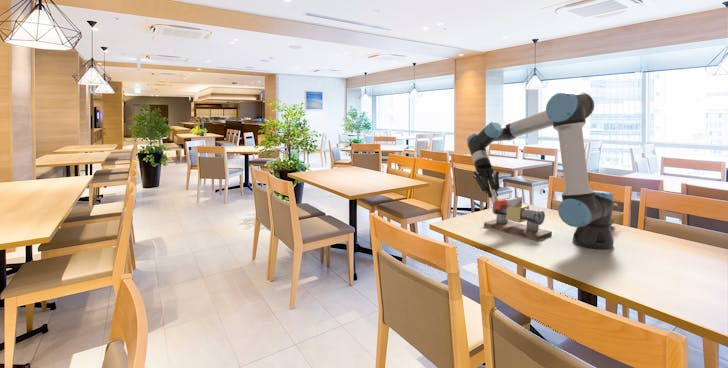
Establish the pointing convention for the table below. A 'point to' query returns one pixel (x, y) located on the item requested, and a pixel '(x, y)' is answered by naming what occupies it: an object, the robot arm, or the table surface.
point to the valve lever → (508, 202)
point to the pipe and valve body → (520, 216)
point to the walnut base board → (518, 230)
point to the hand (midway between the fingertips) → (495, 202)
